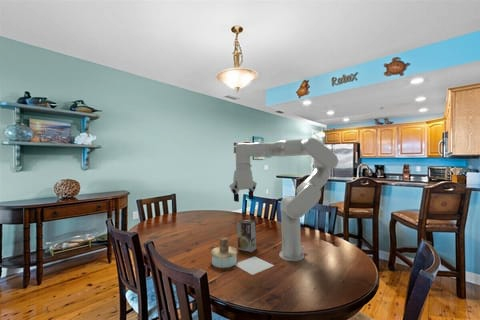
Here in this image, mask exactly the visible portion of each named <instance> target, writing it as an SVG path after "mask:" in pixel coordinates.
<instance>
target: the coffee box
mask: <svg viewBox="0 0 480 320" xmlns="http://www.w3.org/2000/svg"><path fill="white" fill-rule="evenodd" d="M256 226H257V221H256V220H252V219H251V220H250V219H241V220H238V221H237V228H236V229H237V250H240V251H245V252H248V253H249V252H250V253H253V252H254V251H255V250H256V249H257V227H256Z"/></svg>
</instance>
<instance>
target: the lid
mask: <svg viewBox="0 0 480 320" xmlns="http://www.w3.org/2000/svg"><path fill="white" fill-rule="evenodd" d="M237 254H238V248H236V247H234V246H230V245H229V238H227V237H221V238H219V246H217V247H214V248H212V250H211V251H210V255H211V257H212V256H213V257H216V258H230V257H233V256H235V255H236V256H237Z"/></svg>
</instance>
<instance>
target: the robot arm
mask: <svg viewBox="0 0 480 320" xmlns="http://www.w3.org/2000/svg"><path fill="white" fill-rule="evenodd" d="M296 156H297V157H298V156H311V158H313V166H314V167H313V171H312V172H311V173H310V175H309V176H308V177H307V178H305V180H304V181H302V182H301V183H300V184H298V186H297V188H296V190H295V191H296V195H295V196H293V195H287V196H284V197H283V198H282V199H281V201H280V216H281V251H280V252H279V254H278V255H279V258H281V259H282V260H284V261H289V262H299V261H302V260H303V259H304V257H305V255H304V253H303V251H304V250H306V249H307V248H306V246H305V245H301V242H302V241H301V218H302V217H303V216H305V215H306V214H308V212H309V211H310V210H311V209H312V208H314V206H316V205H317V203H319V201H320V199H321V197H322V191H321V189H322V187H324V185H326V183H327V181H328V180H329V177H330V170H333V169H335V168H336V167H337V166H338V164H339V158H338V156H337V154H335V152H333V151H332V150H331V149H330V148H328V147H327V146H326V145H325V144H323V143H322V142H321V141H320V140H318V139H316V138H314V137H309V138H303V139H301V138H299V139H284V140H278V141H274V142H264V143H262V142H252V143H251V142H250V143H245V142H241V143H237V144H236V145H235V170H234V172H233V179H232V180H233V182H232V183H231V184H230V185H229V189H230V191H231V192H232V194H233V201H234V202H236V203H238V202H240V200H239V199H240V196H239V195H240V194H239V192H240V191H242V190H248V199H249V200H254V192H255V189H256V186H257V184H258V183H257V182H256V181H254V180H253V172H252V169H251V168H252V164H251V157H253V158H263V157H265V158H266V157H280V158H281V157H282V158H283V157H296Z"/></svg>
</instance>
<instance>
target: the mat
mask: <svg viewBox="0 0 480 320" xmlns="http://www.w3.org/2000/svg"><path fill="white" fill-rule="evenodd" d="M234 266H236V267H238V268H239V269H241V270H242V271H245V272H246V273H248V274H250V275H251V276H252V275H255V274H258V273H261V272H264V271H266V270H268V269H270V268H272V267H274V266H275V265H274V264H272V263H270V262H268V261H266V260H263V259H262V258H260V257H257V256H252V257H249V258H247V259H244V260H241V261H238V262H237V263H236V264H235V265H234Z"/></svg>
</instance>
